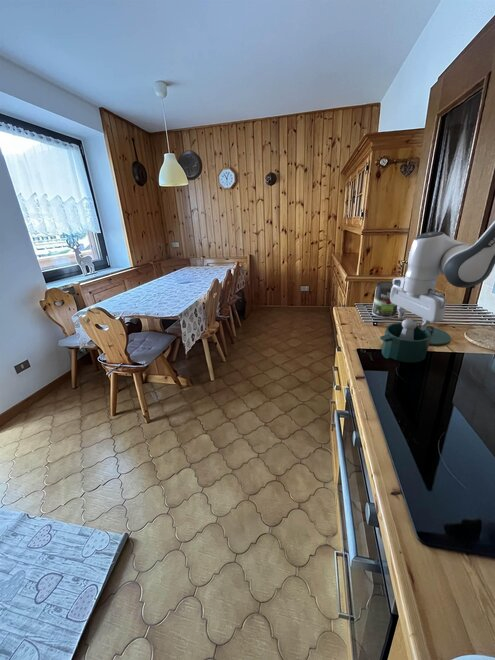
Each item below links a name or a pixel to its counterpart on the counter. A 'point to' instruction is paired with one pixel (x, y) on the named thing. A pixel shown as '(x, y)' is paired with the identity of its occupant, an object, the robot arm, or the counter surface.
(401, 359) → the pot
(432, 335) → the lid
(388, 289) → the coffee can
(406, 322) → the salt shaker
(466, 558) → the counter surface
